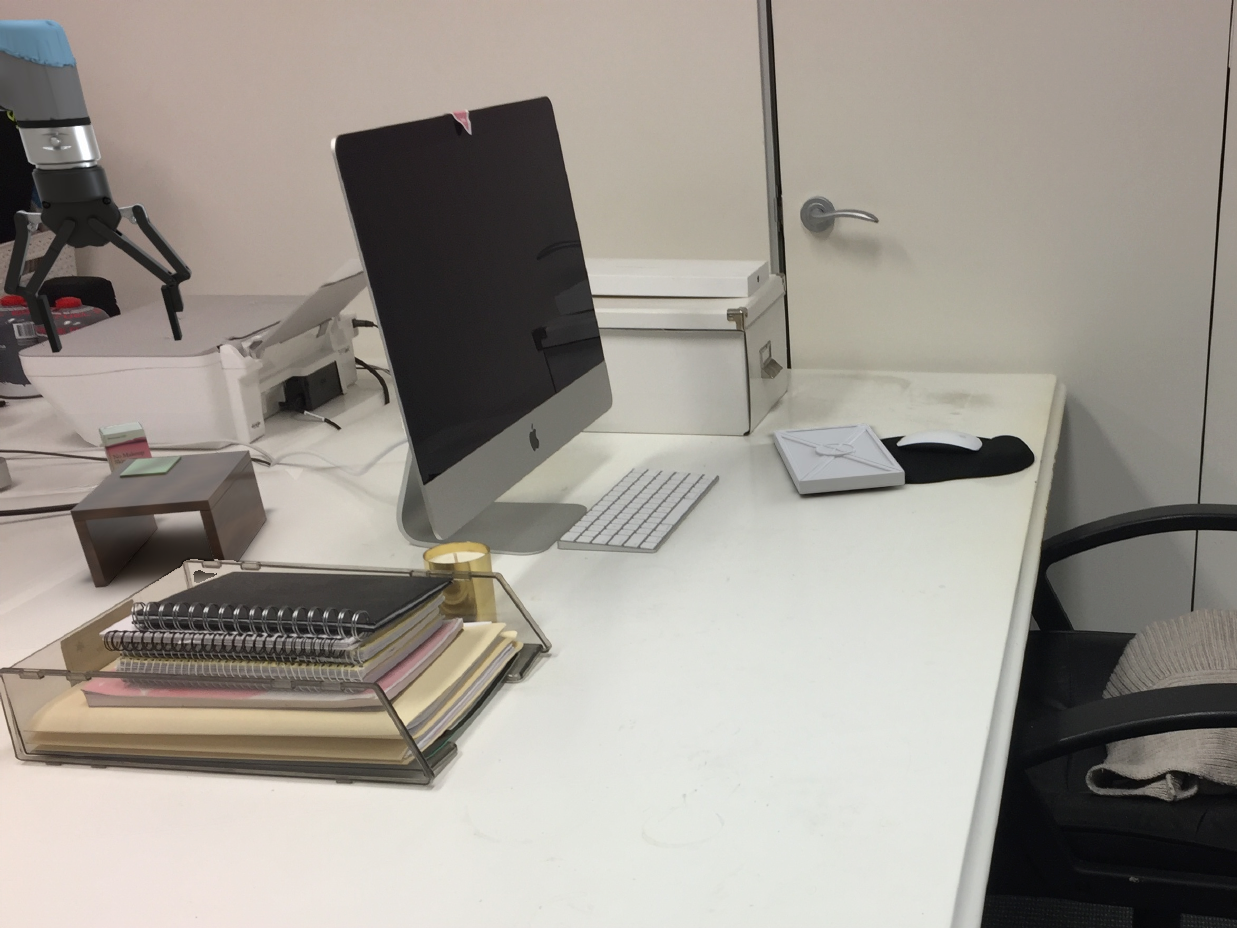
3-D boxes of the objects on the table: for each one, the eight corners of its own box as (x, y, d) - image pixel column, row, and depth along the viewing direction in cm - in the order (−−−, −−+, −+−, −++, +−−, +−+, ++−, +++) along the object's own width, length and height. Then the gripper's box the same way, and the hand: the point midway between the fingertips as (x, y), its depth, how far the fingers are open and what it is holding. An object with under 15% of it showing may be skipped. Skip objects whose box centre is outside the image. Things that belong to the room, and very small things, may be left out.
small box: (119, 491, 166) (101, 434, 162) (114, 483, 169) (96, 427, 165) (160, 483, 168) (144, 427, 165) (155, 475, 171) (138, 420, 168)
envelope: (867, 436, 181) (774, 444, 178) (866, 421, 180) (773, 429, 177) (904, 486, 159) (799, 496, 157) (904, 470, 158) (799, 479, 156)
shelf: (95, 587, 137) (69, 509, 133) (147, 529, 153) (125, 457, 149) (228, 575, 139) (207, 498, 135) (266, 519, 155) (248, 448, 151)
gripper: (-64, 174, 139) (-1, 362, 149) (181, 161, 148) (226, 339, 157) (-50, 168, 145) (10, 348, 155) (185, 156, 154) (227, 327, 163)
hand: (119, 344), depth 156 cm, fingers open, 13 cm apart
